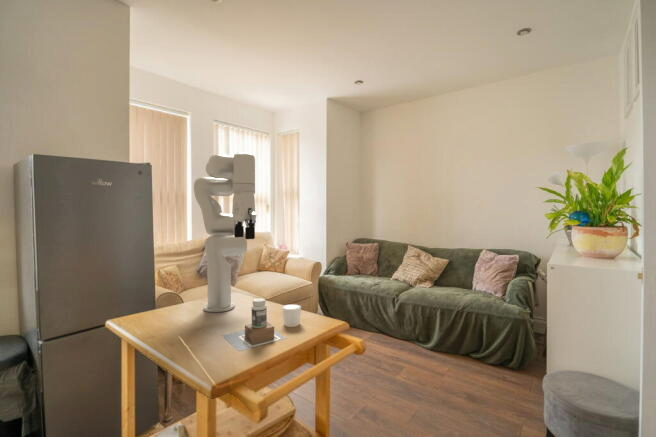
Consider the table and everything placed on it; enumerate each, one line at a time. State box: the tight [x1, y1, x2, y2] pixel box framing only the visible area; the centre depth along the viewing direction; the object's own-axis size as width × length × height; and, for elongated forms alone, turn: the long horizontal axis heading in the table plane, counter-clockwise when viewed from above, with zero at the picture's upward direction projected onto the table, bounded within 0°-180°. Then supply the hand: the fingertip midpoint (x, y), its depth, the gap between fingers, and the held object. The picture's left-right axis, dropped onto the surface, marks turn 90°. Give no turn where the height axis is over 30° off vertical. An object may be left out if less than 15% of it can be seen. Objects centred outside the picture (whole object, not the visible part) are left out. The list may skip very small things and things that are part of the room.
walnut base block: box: [244, 322, 275, 344], centre depth 103 cm, size 7×7×4 cm
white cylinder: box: [281, 303, 302, 328], centre depth 116 cm, size 7×7×7 cm
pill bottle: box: [251, 297, 268, 328], centre depth 103 cm, size 5×5×8 cm
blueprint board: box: [221, 329, 287, 352], centre depth 104 cm, size 15×16×1 cm
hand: (244, 238), depth 112 cm, fingers open, 9 cm apart
